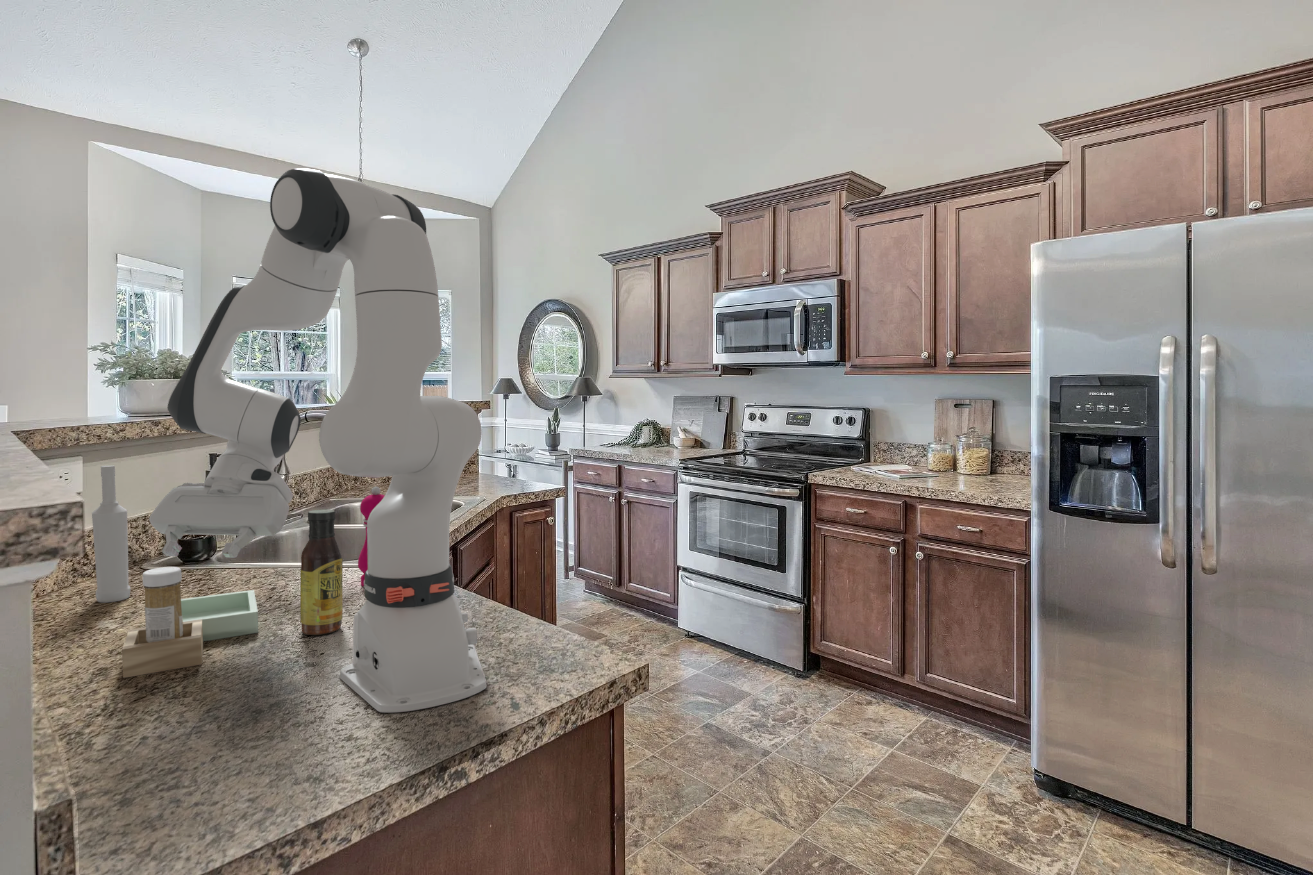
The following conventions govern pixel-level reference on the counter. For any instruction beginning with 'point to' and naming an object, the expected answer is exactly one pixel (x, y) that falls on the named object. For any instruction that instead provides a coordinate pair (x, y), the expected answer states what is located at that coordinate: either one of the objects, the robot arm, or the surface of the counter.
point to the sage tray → (223, 614)
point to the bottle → (110, 543)
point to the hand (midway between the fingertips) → (198, 555)
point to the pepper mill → (366, 509)
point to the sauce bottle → (321, 577)
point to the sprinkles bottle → (163, 604)
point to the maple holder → (162, 651)
